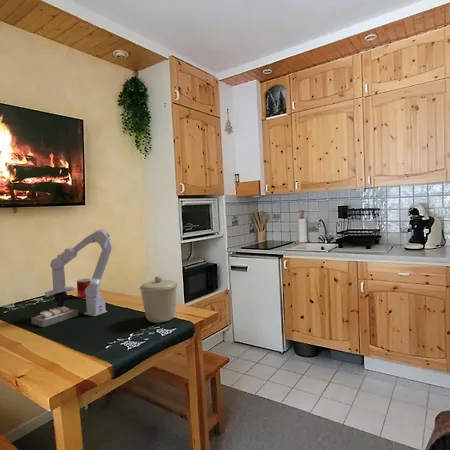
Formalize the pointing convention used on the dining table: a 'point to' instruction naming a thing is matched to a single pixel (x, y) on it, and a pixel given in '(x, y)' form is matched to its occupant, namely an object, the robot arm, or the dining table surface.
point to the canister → (159, 299)
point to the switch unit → (54, 318)
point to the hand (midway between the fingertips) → (60, 307)
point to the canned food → (82, 287)
